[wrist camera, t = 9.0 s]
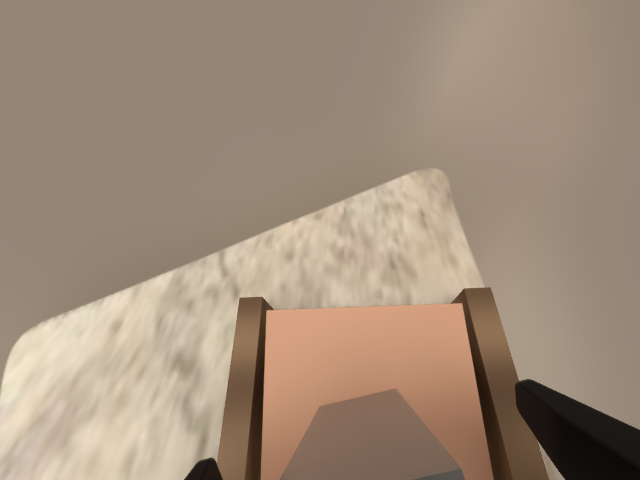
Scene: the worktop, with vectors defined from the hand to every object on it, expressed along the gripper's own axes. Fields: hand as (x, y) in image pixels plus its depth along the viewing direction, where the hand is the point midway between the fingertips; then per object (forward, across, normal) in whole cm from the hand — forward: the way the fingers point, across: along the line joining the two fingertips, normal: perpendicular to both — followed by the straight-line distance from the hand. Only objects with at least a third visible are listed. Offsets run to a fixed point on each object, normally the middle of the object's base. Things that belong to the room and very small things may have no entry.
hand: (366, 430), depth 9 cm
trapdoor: (+10, -1, +8) cm, 13 cm away
